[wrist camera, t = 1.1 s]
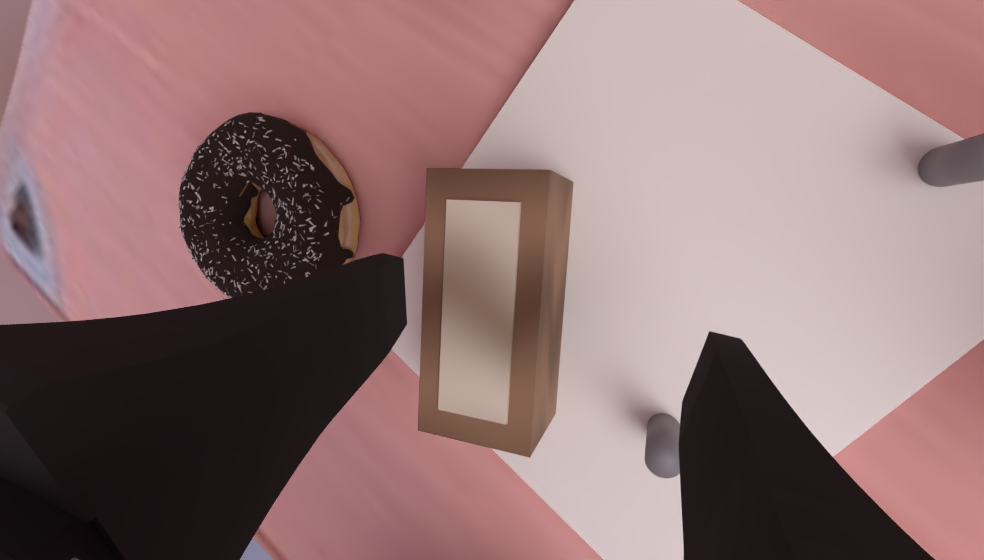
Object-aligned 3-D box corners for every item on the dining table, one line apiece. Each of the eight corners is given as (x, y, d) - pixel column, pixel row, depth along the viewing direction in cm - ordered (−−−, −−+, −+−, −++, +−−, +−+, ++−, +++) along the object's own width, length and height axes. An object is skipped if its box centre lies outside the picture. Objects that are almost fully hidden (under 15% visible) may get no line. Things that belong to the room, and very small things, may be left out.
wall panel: (647, 586, 22) (643, 659, 18) (371, 315, 26) (322, 329, 22) (1091, 233, 15) (1229, 234, 12) (623, -56, 19) (614, -124, 16)
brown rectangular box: (555, 413, 22) (528, 459, 17) (461, 394, 23) (416, 431, 19) (573, 182, 20) (548, 169, 16) (471, 179, 22) (424, 167, 18)
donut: (249, 97, 28) (186, 77, 24) (399, 168, 25) (352, 158, 21) (208, 257, 31) (146, 260, 27) (339, 340, 28) (288, 357, 24)
